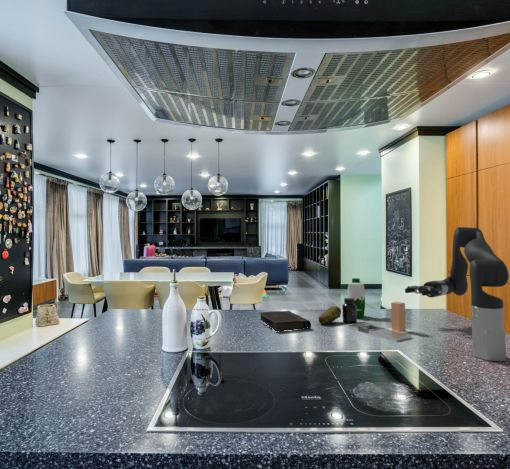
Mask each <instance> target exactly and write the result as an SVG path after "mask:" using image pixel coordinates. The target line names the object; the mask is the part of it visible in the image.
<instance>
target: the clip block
mask: <svg viewBox="0 0 510 469" xmlns="http://www.w3.org/2000/svg"><path fill="white" fill-rule="evenodd" d="M390 305H391V307H390V308H391V313H390V314H391V328H392V330H394V331H398V332H401V331H405V330H406V329H407V328H406V302H402V301H401V302H400V301H394V302H391V303H390Z"/></svg>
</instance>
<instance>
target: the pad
mask: <svg viewBox="0 0 510 469" xmlns="http://www.w3.org/2000/svg"><path fill="white" fill-rule="evenodd" d="M387 329H389V330H392V327H389V328H387ZM393 331H394V330H393ZM397 332H398V331H397ZM411 332H414V330H412V329H408V328H406V330H405V331H401V333H405V334H408V333H411Z"/></svg>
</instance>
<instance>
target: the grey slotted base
mask: <svg viewBox="0 0 510 469" xmlns="http://www.w3.org/2000/svg"><path fill="white" fill-rule="evenodd" d="M347 325H348V326H347V327H348V329H350V330H354V331H358V332H361V333H364V334H367V335H368V334H369V335H371V336H375V337H379V338H383V339H385V340H390V341H392V342H400V341H406V340H408V339H409V340H410V339H412V334H409V333H401V332H397V331H393V330H389V329H388V328H385V327H380V326H377V325H373V324H369V323H365V322H359V323H358V322H357V323H354V324H347Z"/></svg>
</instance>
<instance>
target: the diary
mask: <svg viewBox="0 0 510 469" xmlns="http://www.w3.org/2000/svg"><path fill="white" fill-rule="evenodd" d="M258 315H260V320H262V321H263V322H265V323H266V324H267V325H269V326H270V327H271V328H273V329H274V330H275V331H284V330H292V331H295V330H294V329H302V330H304V329H303V328H306V329H308V328H309V329H308V330H311V328H312V323H311V321H310V320H309V319H307V318H304V317H303V316H300V315H298V314H296V313H294V312H292V311H291V310H281V311H279V310H278V311H275V310H274V311H263V312H262V311H261V312H258ZM307 327H308V328H307Z"/></svg>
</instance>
